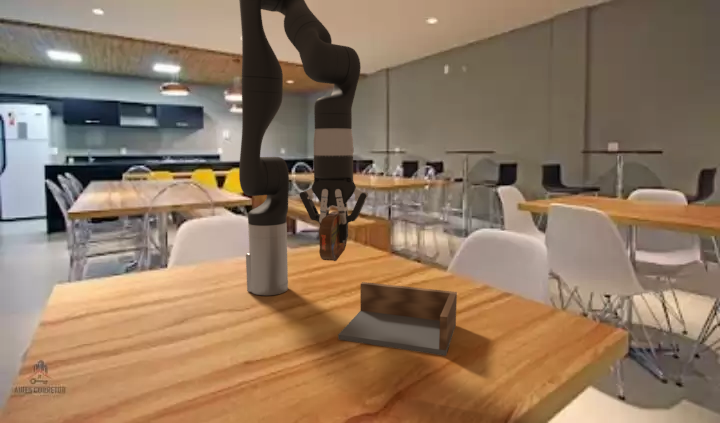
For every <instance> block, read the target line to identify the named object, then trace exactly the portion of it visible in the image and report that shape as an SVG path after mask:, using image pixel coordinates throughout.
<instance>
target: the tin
mask: <svg viewBox="0 0 720 423" xmlns="http://www.w3.org/2000/svg"><path fill="white" fill-rule="evenodd" d="M340 224H341V222H340V216H339V212H338V210H332V211H330V212H329V214H328V215H327V216H326V217H324V218H323V219H322V221H321V223H319V230H318V239H319V256H320V258H321V260H323V261H331V262H332V261H333V262H337V260H338V259H339V258H340V256H341V255H342V254H343V253H344V252H345V249H346V246H347V242H348V239H347V240H345V242H344V243H339V225H340Z"/></svg>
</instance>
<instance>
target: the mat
mask: <svg viewBox="0 0 720 423" xmlns="http://www.w3.org/2000/svg"><path fill="white" fill-rule="evenodd" d="M456 325H457V321H456V322H455V325H454V328H453V331H452V334H451V337H450V340H449V343H448V346H447V349H446V350H440V349H439V336H440V321H438V320H430V319H422V318H414V317H407V316H399V315H391V314H383V313H375V312H367V311H361V310H360V311H358V313H357V314H356V315H355V316H354V317H353V318H352V319H351V320H350V321H349V322H348V324H347V325H346V326H345V327H344V328H343V329H342V330H341V331H340V332H339V333H338V334H337V335H338V341H346V342H353V343H360V344H365V345H373V346H379V347H386V348H393V349H397V350H398V349H399V350H406V351H412V352H419V353H424V354H425V353H426V354H433V355H436V356H437V355H439V356H444V357H446V356H447V353H448V351H449V347H450V344H451V342H452V339H453V335H454V332H455V329H456Z"/></svg>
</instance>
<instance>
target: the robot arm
mask: <svg viewBox="0 0 720 423" xmlns="http://www.w3.org/2000/svg"><path fill="white" fill-rule="evenodd" d="M262 10H263V11H268V12H272V13H273V12H278V13H279V14H282V15H283V16H284V18H283V30H284V33H285V35H286V37H287V39H288V41H289V42H290V43H291V44H292V46H293V47H294V48H295V49H296V50H297V52H298V53H299V57H300V60H301V61H300V62H301V64H302V68H303V71H304V73H305V75H306V76H307V77H308V78H309V79H311V80H312V81H314V82H316V83H319V84H321V83H322V84H330V85H331V84H333V88H332V92H331V94H330V95H328V96H322V97H319V98H317V99H316V100H315V102H314V106H313V108H314V109H313V110H314V113H313V114H314V135H313V136H314V137H313V183H312V185H311V188H309V189H307V190H304V191H301V192H299V198H300V200H301V201H302V204H303V206H304V208H305V210H306V212H307V214H308V216H309V218H310V220H311V221H315V222H317V223H319V224H320V223H321V221H322V219H323V218H324V217H326V216H327V215H328V214H329V213H330V209H331V207H332V206H333V207H337V211H338V212H339V216H340V222H341V224H340V225H339V243H344V242H345V240H347V241H348V237H349V224H350V223H351V222H355V221H356V220H357V219H358V218H359V215H360V213H361V212H362V209H363V207H364V205H365V202H366V201H367V199H368V196H369V193H368V192H367V191H363V190H360V189H358V188H357V186H356V184H355V182H354V152H355V150H354V139H353V138H354V137H353V131H352V127H353V124H352V121H353V118H352V108H353V103H354V101H355V100H354V99H355V95H356V91H357V86H358V82H359V80H360V76H361V67H362V66H361V60H360V57H359V54H358V53H357V51H356V50H355V49H354V48H352V47H351V46H346V45H341V44H335V43H332V42H333V41H332V36H331V34H330V32H329V30H328V29H327V28H326V26H325V25H324V24H323V23H322V21H320V20H319V18H318V17H317V16H316V14H314V12H312V10H311V9H310V8H309V6H308V5H307V3H306V1H305V0H239V11H240V14H239V15H240V23H241V24H240V25H241V42H242V43H241V45H242V47H241V50H242V52H241V53H242V54H241V56H242V57H241V59H242V60H241V105H242V106H241V108H242V109H241V111H242V112H241V114H242V120H241V121H242V123H241V125H242V126H241V128H242V130H241V144H240V153H239V154H240V155H239V167H238V168H239V170H238V173H239V174H238V175H239V176H238V177H239V184H240V185H239V187H240V188H241V191H242V193H243V194H244V195H246V196H248V197H255V196H256V197H257V196H260V197H261V196H266V198H265V200H264V202H263V203H261V204H260V205H258V206H257V207H255V208H252V209H251V210H250V211H248V213H247V228H248V251H249V252H247V253H246V254H245V265H246V266H245V267H246V268H245V269H246V291H247V292H249V293H252V294H253V295H257V296H274V295H275V296H276V295H280V294H284V293H285V292H286V291H288V290H289V278H288V276H289V275H288V274H289V273H288V265H289V264H288V236H287V235H288V232H287V231H288V228H287V227H288V225H287V215H288V210H289V190H290V189H289V186H290V177H289V176H290V175H289V173H290V172H289V169H288V165H287V162H286V160H284V158H282V157H279V156H261V150H262V144H263V143H262V142H263V139H264V136H265V134H266V131H267V129H268V127H269V126H270V125H271V123H272V121H273V120H274V118H275V117H276V115H277V113H278V111H279V109H280V107H281V105H282V102H283V90H284V89H283V84H284V83H283V81H284V79H283V78H284V75H283V70H282V66H281V64H280V62H279V60H278V57H277V55H276V54H275V51H274V50H273V48H272V46H271V44H270V42H269V40H268V38H267V35H266V33H265V30H264V25H263V19H262V18H263V17H262ZM314 195H315V197H316V198H317V199H318V201H319V202H320V207H319V211H318V209H317V208H316V205H315V203H314V198H315V197H314ZM353 195H354V201H356V203H355V205H354V207H353V209H352V211H351V214H349V211H348V210H349V206H348V202H349V201H350V199H351V198H352V196H353Z"/></svg>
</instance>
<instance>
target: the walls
mask: <svg viewBox="0 0 720 423" xmlns="http://www.w3.org/2000/svg"><path fill="white" fill-rule="evenodd" d="M457 297H458V292H457V291H452V290H441V289H433V288H432V289H431V288H422V287H414V286H404V285H395V284H394V285H393V284H385V283H378V282H376V283H374V282H365V281H362V282H361V283H360V311H367V312H375V313H383V314H391V315H399V316H407V317H414V318H422V319H430V320H438V321H440V336H439V349H440V350H446V349H447V346H448V343H449V340H450V337H451V334H452V331H453V328H454V325H455V322H456V323H457V305H458V304H457Z"/></svg>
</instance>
